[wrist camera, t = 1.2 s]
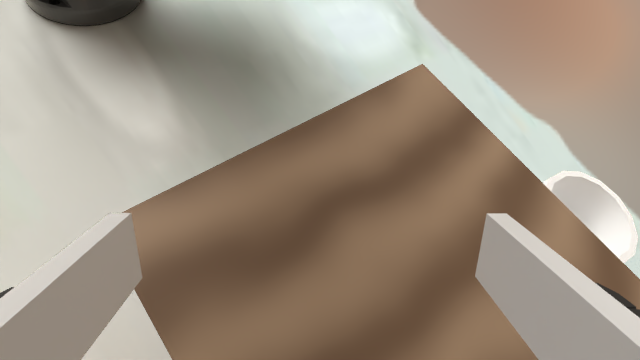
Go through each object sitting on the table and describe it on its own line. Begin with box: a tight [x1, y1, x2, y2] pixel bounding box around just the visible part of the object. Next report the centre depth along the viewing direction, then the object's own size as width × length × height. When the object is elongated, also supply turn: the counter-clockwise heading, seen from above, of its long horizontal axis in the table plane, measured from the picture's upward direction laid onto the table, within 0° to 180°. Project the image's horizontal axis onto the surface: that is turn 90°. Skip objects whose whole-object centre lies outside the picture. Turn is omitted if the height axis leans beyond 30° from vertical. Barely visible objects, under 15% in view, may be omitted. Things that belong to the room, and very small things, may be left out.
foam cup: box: [542, 171, 638, 263], centre depth 38 cm, size 10×9×13 cm
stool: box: [122, 64, 640, 360], centre depth 28 cm, size 24×24×20 cm
